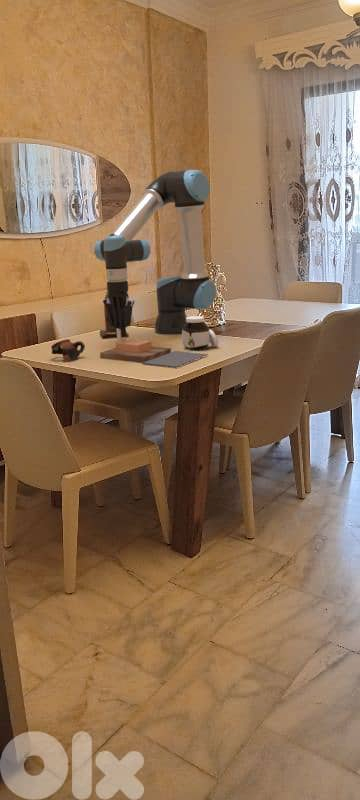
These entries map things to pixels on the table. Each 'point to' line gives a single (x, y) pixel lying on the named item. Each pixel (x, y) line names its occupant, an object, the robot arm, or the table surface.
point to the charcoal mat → (174, 359)
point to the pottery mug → (68, 349)
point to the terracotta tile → (133, 346)
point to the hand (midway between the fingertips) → (121, 345)
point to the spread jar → (197, 334)
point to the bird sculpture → (107, 323)
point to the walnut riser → (135, 354)
